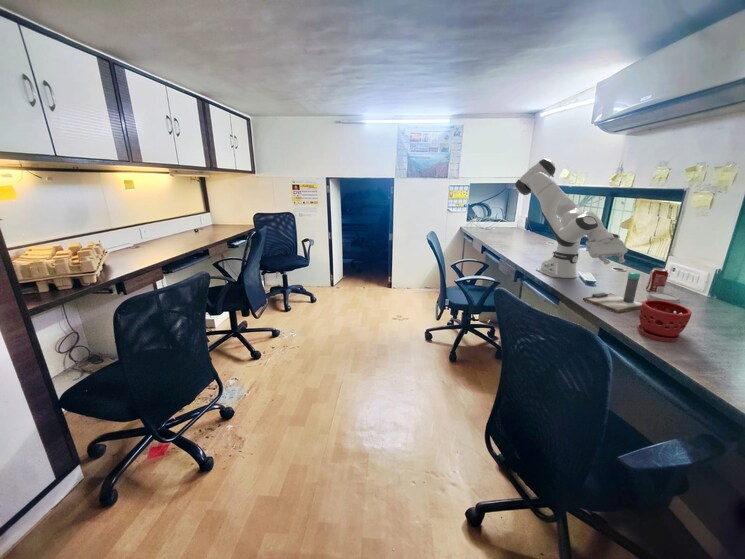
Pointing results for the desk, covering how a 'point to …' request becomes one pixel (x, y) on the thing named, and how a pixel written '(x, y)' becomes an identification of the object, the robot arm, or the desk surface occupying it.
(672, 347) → the desk surface
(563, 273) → the robot arm
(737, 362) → the desk surface
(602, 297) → the clipboard
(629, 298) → the ball
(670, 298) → the disposable coffee cup
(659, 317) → the plant pot
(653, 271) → the soda can
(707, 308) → the desk surface
